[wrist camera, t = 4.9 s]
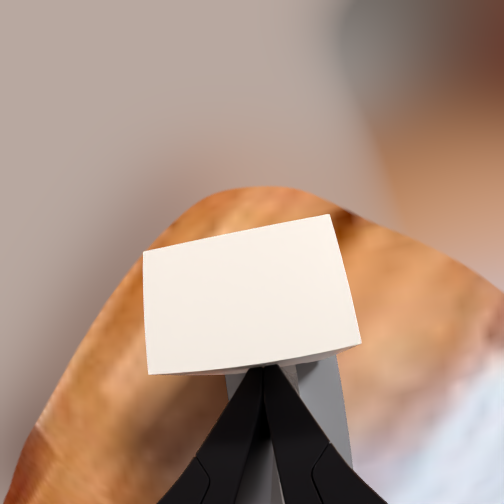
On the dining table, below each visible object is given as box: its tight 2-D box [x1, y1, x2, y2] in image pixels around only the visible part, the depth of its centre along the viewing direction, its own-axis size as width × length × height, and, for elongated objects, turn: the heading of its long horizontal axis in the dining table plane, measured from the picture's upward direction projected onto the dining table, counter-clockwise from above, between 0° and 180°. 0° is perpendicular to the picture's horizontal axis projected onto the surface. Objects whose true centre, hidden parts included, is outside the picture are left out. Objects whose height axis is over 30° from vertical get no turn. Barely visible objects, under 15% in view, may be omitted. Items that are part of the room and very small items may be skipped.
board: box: [225, 355, 353, 504], centre depth 14 cm, size 13×6×1 cm, turn 8°
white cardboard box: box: [143, 214, 361, 375], centre depth 11 cm, size 3×5×10 cm, turn 98°
